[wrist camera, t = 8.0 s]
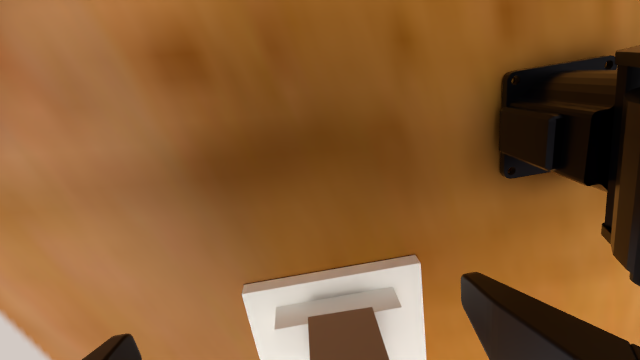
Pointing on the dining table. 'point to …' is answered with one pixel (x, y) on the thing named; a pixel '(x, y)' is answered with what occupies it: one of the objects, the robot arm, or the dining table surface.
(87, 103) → the dining table surface
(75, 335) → the dining table surface
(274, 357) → the display rest
